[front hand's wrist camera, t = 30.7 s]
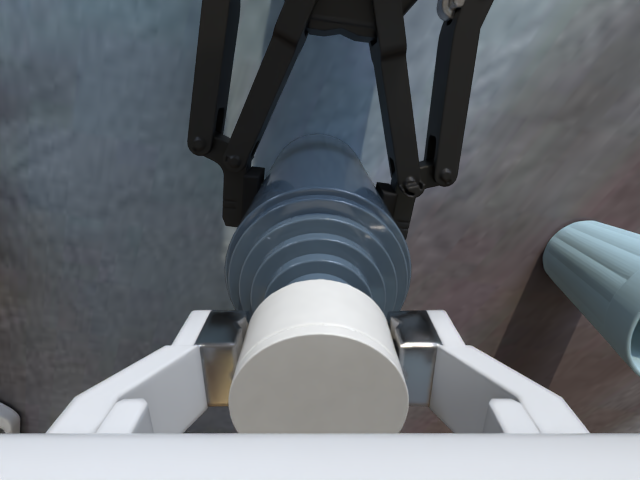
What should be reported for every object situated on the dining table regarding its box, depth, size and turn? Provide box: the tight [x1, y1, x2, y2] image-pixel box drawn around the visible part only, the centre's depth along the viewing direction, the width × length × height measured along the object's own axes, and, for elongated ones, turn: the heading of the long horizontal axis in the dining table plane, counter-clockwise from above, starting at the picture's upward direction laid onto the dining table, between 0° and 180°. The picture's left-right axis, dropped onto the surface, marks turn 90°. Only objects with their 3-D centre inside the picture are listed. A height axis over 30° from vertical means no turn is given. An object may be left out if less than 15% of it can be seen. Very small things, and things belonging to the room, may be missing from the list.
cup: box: [543, 221, 640, 377], centre depth 25 cm, size 8×8×10 cm
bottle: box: [225, 134, 411, 320], centre depth 18 cm, size 7×7×20 cm
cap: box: [229, 279, 409, 433], centre depth 9 cm, size 4×4×2 cm
